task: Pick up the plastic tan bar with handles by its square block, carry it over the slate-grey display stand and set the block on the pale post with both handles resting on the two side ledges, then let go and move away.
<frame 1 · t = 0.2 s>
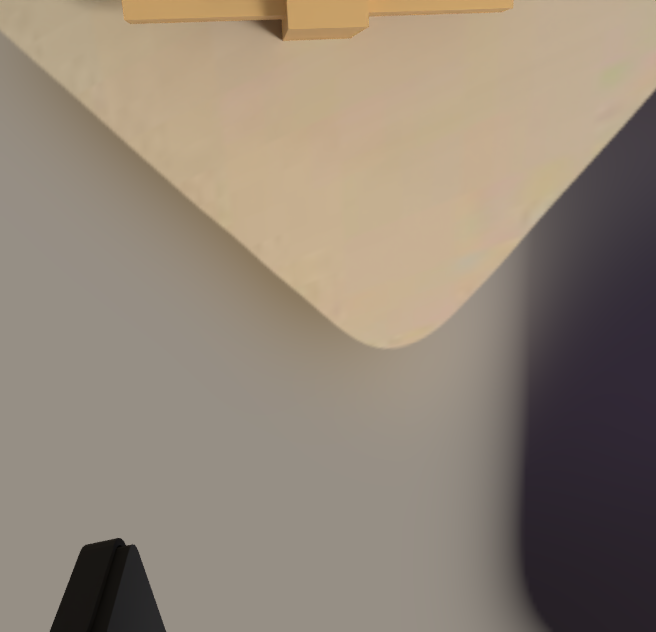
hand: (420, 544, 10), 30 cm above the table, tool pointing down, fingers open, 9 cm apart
tan bar with handles: (314, 1, 34), on the table
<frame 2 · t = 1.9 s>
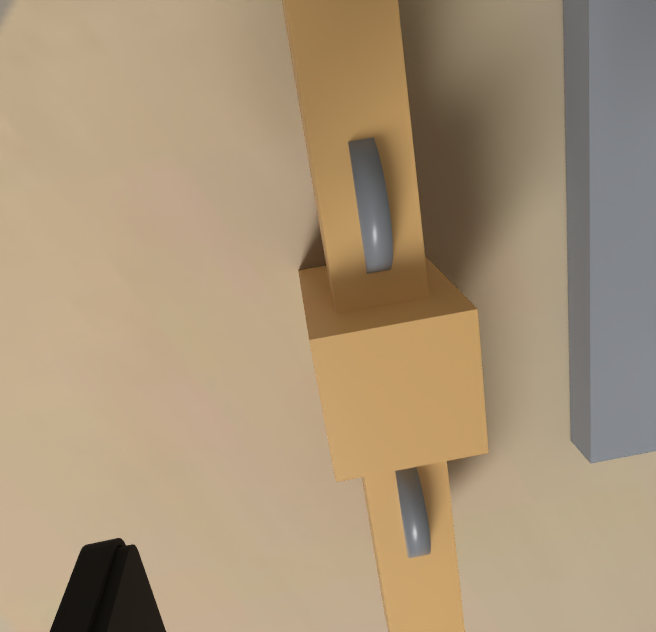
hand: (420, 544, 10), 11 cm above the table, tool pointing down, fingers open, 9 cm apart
tan bar with handles: (366, 315, 20), on the table
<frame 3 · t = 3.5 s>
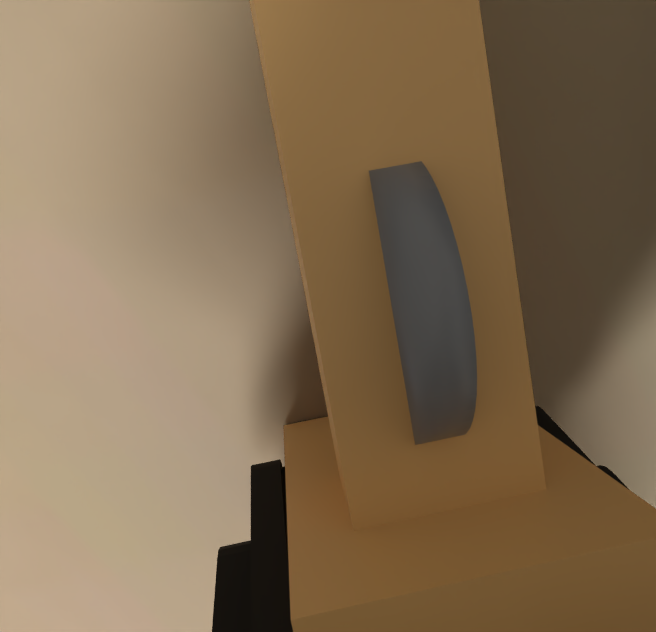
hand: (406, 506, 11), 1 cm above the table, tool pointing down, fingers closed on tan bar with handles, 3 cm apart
tan bar with handles: (400, 499, 12), on the table, tilted 12°, touching gripper
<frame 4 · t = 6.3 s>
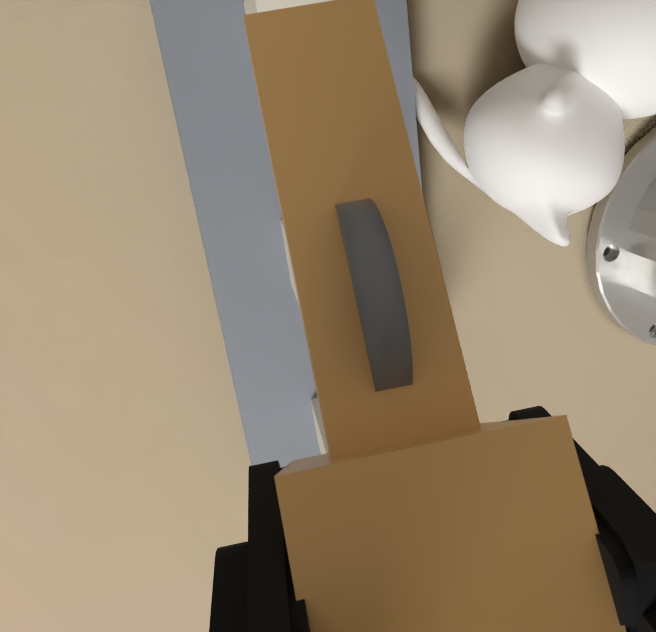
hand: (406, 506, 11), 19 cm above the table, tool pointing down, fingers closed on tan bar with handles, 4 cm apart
tan bar with handles: (396, 531, 13), point 17 cm above the table, tilted 32°, touching gripper
cat figurine: (519, 74, 28), on the table
display stand: (314, 239, 28), on the table
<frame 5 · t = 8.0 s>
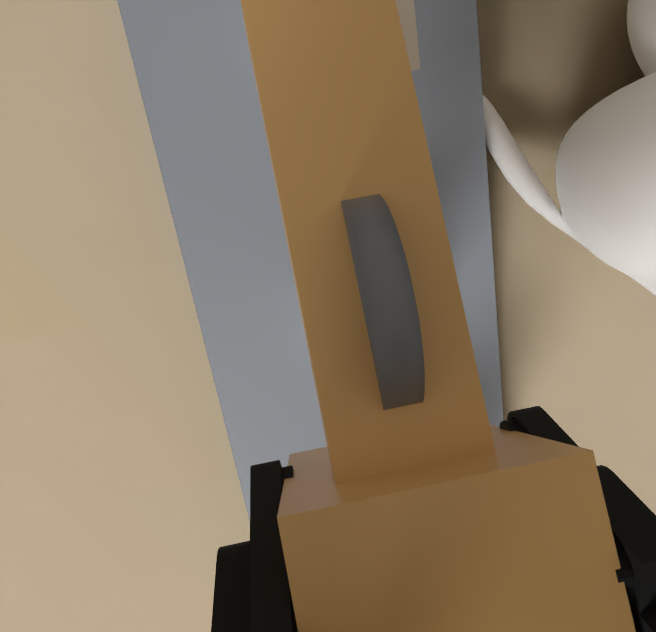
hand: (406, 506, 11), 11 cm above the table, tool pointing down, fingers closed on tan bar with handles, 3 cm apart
tan bar with handles: (396, 526, 13), point 10 cm above the table, tilted 26°, touching gripper
cat figurine: (625, 79, 20), on the table
display stand: (346, 308, 22), on the table
when the fingers open (7 cm above the table, at t = 9.5 s): tan bar with handles stays where it is, resting on display stand.
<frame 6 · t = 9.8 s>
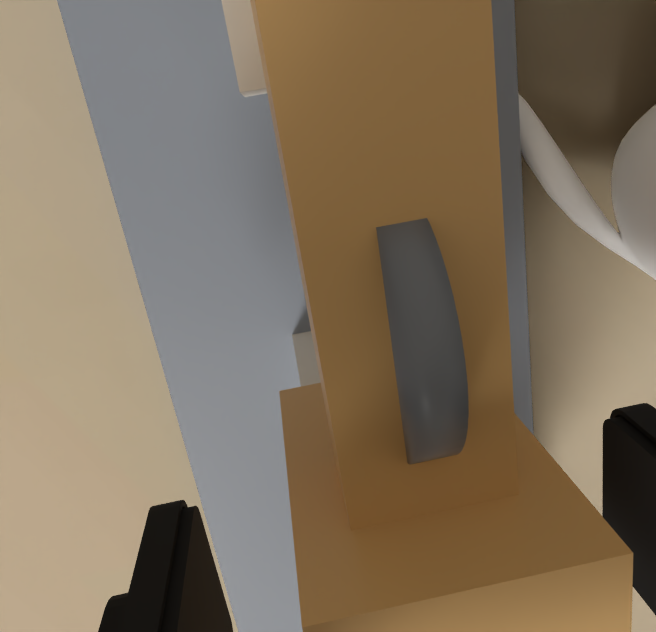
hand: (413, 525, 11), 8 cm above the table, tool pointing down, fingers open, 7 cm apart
tan bar with handles: (384, 452, 13), point 5 cm above the table, touching display stand
display stand: (347, 352, 18), on the table
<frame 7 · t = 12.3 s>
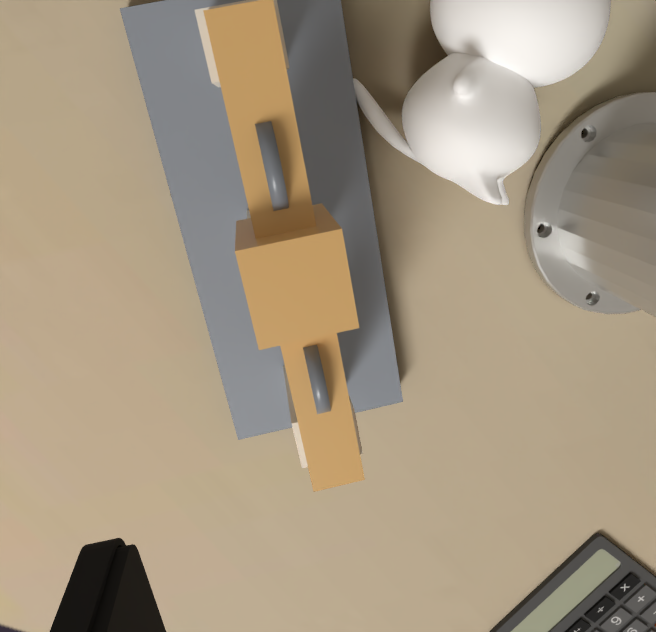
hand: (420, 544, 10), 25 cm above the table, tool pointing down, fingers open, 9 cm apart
tan bar with handles: (287, 253, 28), point 5 cm above the table, touching display stand
cat figurine: (451, 59, 31), on the table
display stand: (279, 227, 33), on the table
calculator: (596, 621, 47), on the table
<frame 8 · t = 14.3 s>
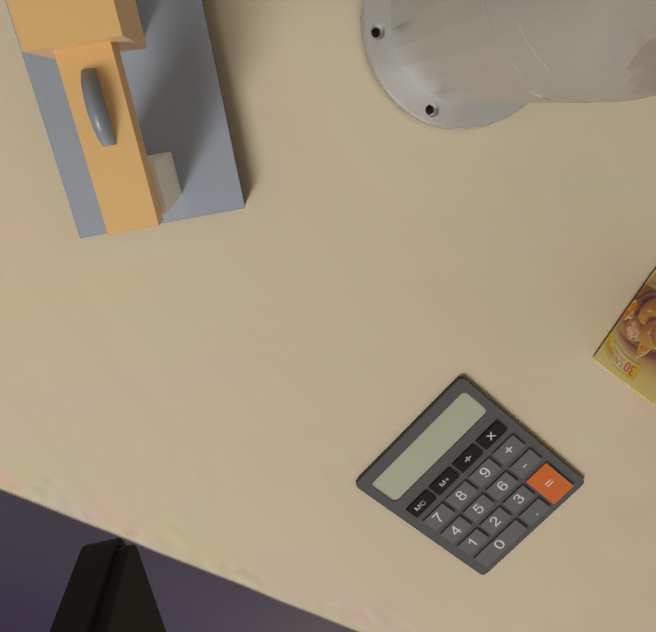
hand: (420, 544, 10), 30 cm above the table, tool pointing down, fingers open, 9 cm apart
tan bar with handles: (94, 10, 29), point 5 cm above the table, touching display stand
display stand: (114, 17, 33), on the table
candy box: (642, 318, 44), on the table
calculator: (469, 476, 48), on the table
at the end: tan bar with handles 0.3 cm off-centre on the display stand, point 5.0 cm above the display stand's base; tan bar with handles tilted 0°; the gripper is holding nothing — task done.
